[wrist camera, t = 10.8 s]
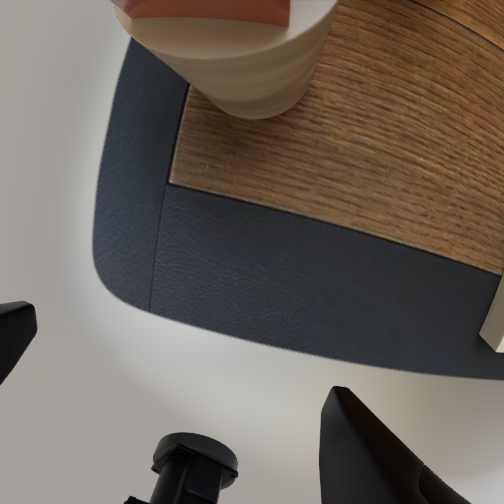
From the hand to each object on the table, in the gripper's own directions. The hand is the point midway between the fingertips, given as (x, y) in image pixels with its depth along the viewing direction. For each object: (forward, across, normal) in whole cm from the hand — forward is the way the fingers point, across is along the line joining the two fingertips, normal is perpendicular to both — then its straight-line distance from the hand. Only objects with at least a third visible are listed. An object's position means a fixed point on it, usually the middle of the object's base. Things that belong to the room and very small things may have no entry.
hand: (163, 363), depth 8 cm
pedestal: (+13, +1, -11) cm, 17 cm away
